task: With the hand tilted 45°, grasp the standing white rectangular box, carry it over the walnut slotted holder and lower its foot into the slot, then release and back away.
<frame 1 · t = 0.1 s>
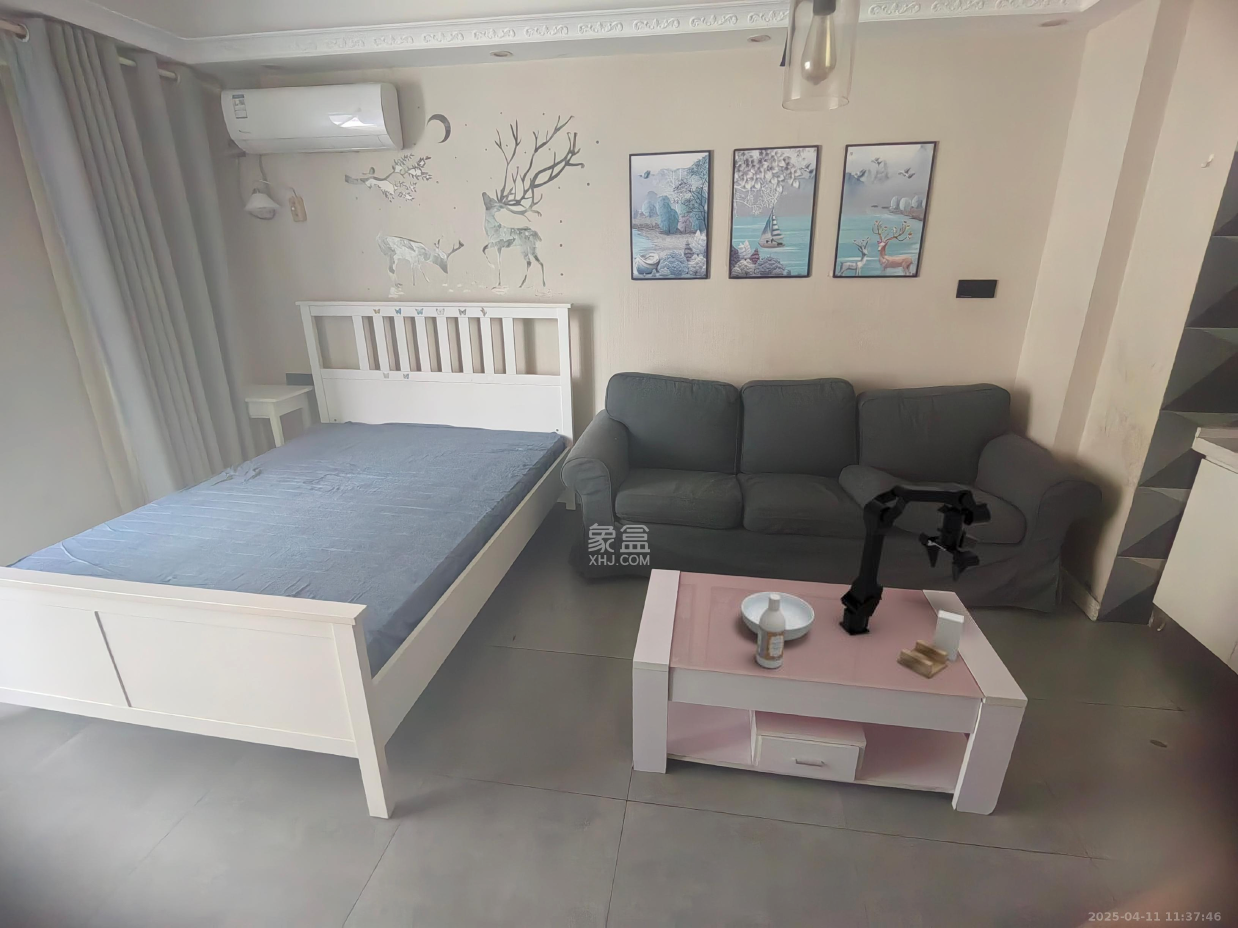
hand: (943, 574, 184), 15 cm above the table, tool pointing down, fingers open, 9 cm apart
serving bowl: (775, 629, 182), on the table
slot holder: (922, 663, 166), on the table
white rectangular box: (944, 653, 171), on the table
bath foam: (769, 661, 168), on the table
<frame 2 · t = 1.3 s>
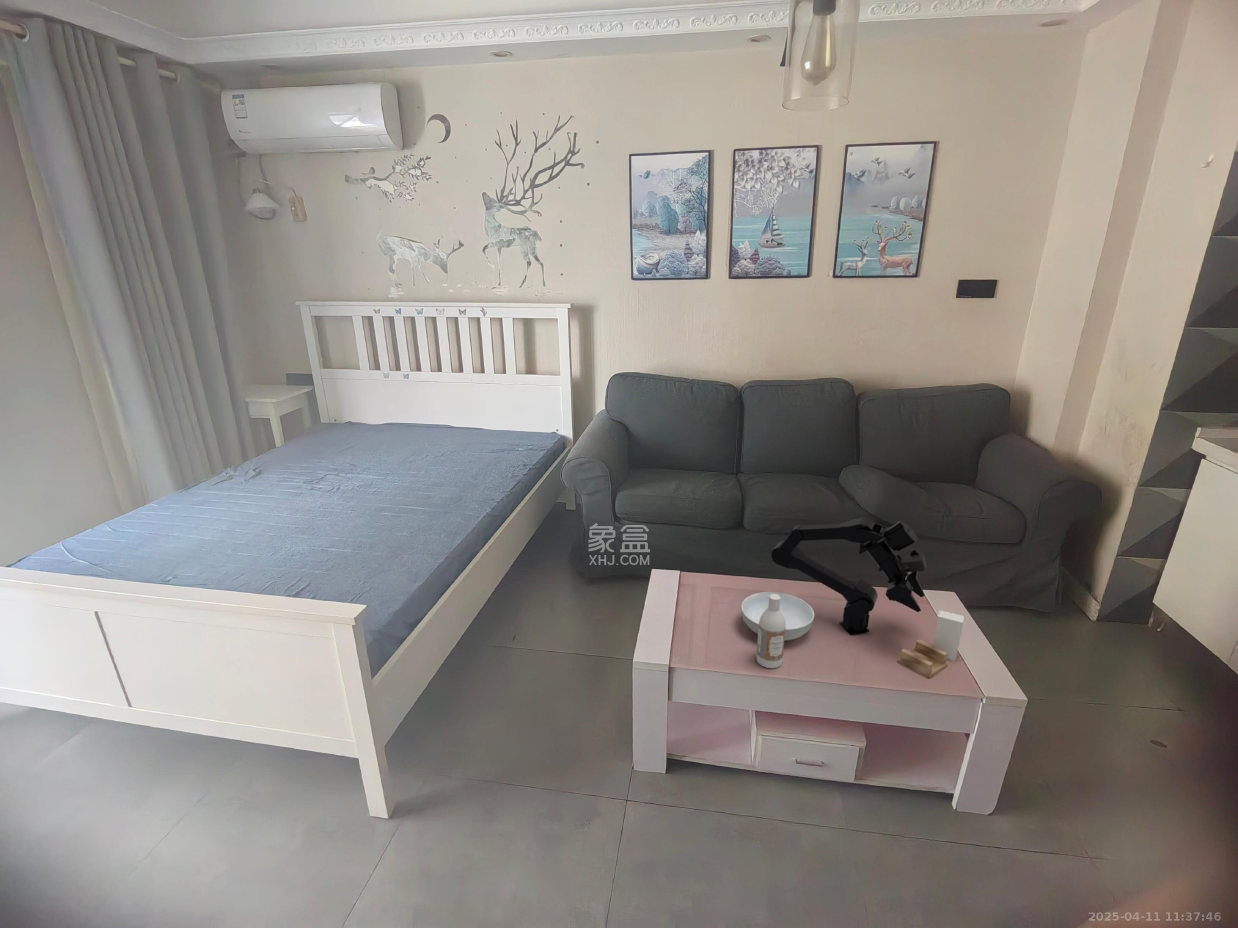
hand: (921, 603, 171), 13 cm above the table, tool tilted 45°, fingers open, 9 cm apart
nothing on the table moved.
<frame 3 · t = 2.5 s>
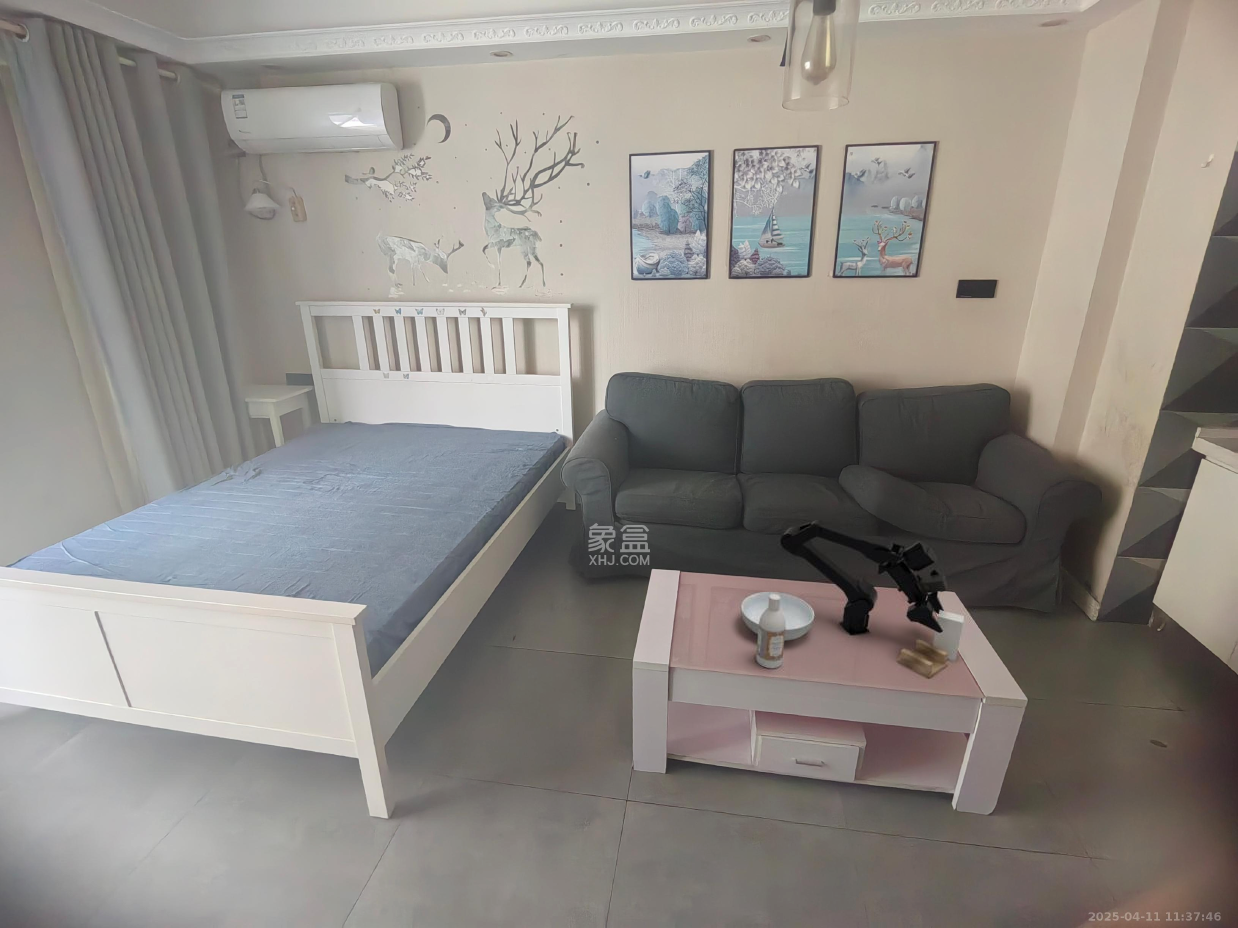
hand: (943, 624, 169), 9 cm above the table, tool tilted 45°, fingers open, 9 cm apart
nothing on the table moved.
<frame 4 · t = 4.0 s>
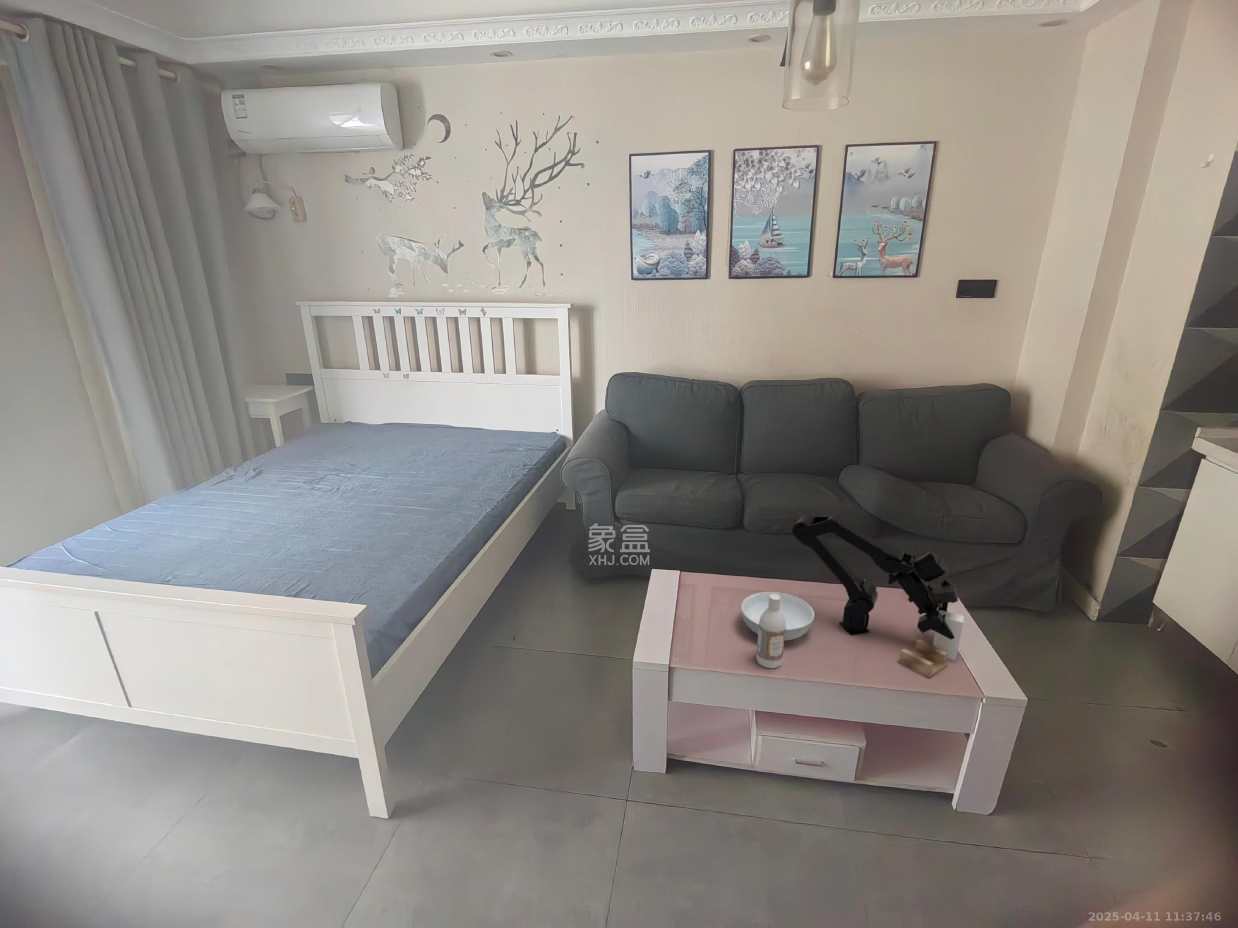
hand: (953, 634, 168), 7 cm above the table, tool tilted 45°, fingers closed on white rectangular box, 4 cm apart
white rectangular box: (944, 653, 171), on the table, touching gripper
everything else where it was.
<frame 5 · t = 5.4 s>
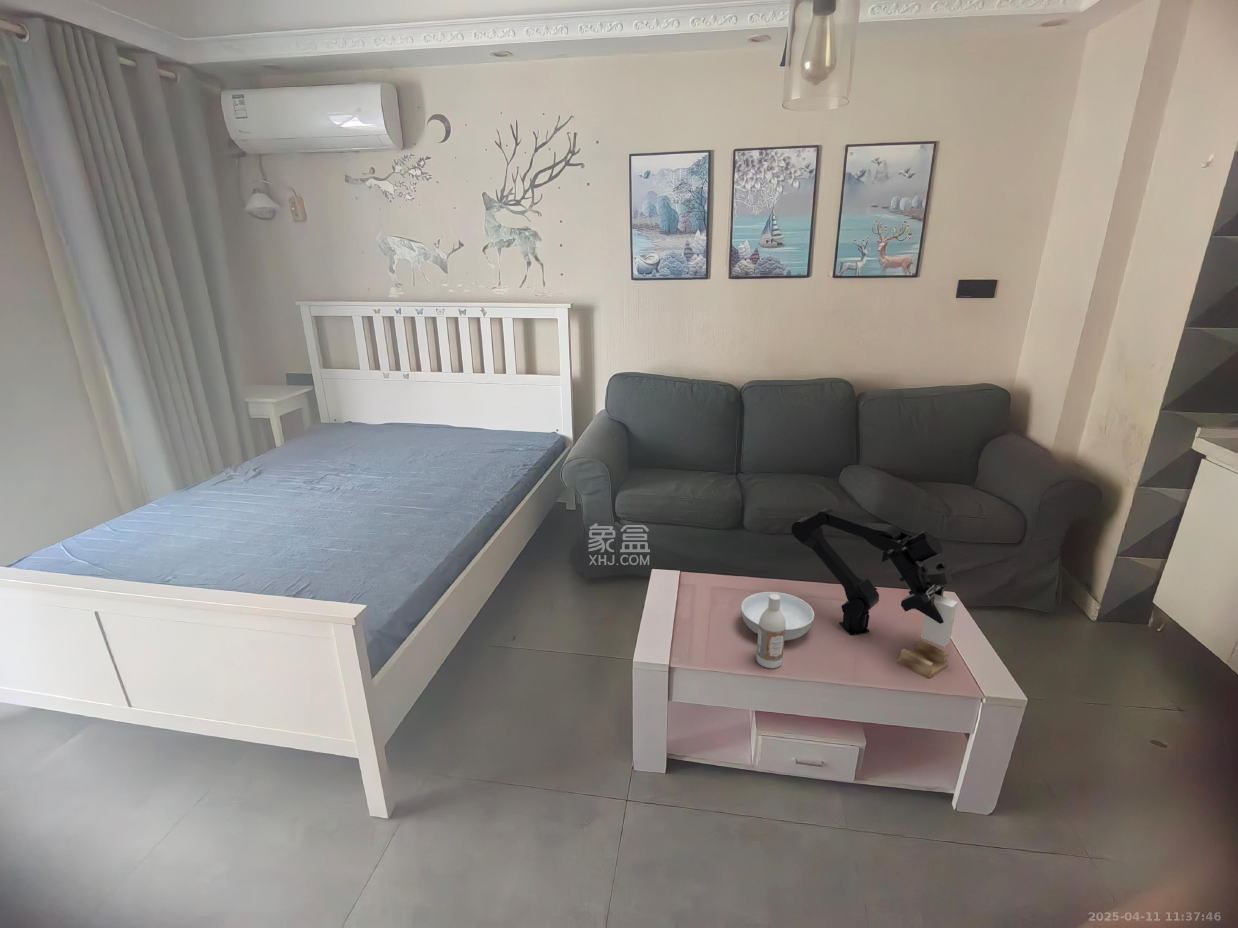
hand: (944, 619, 163), 13 cm above the table, tool tilted 45°, fingers closed on white rectangular box, 4 cm apart
white rectangular box: (935, 639, 166), point 7 cm above the table, touching gripper
everything else where it was.
when the fingers open (8 cm above the table, at t = 7.1 s): white rectangular box drops 1 cm, resting on slot holder.
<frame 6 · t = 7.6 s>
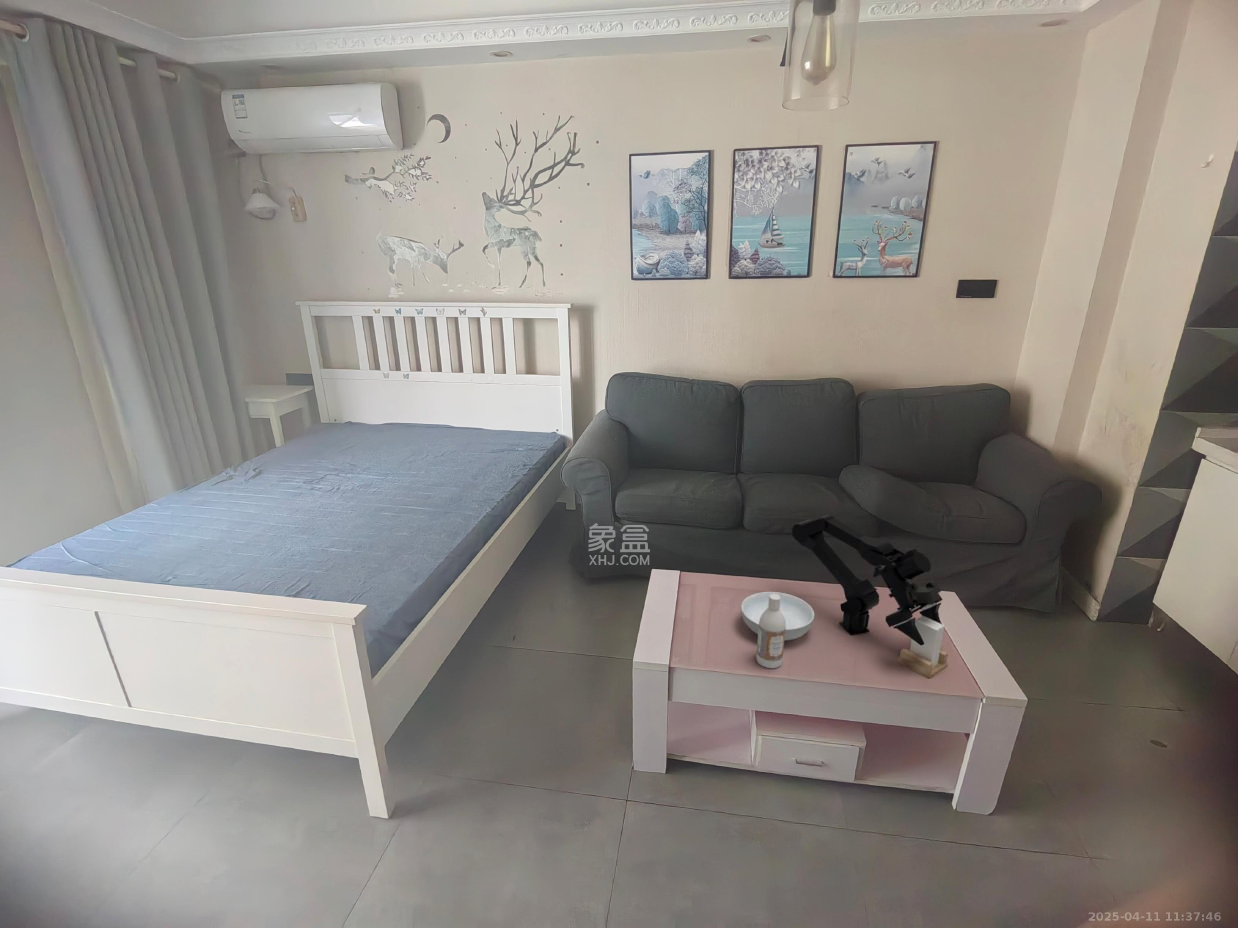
hand: (932, 638, 163), 9 cm above the table, tool tilted 45°, fingers open, 9 cm apart
white rectangular box: (922, 661, 166), point 1 cm above the table, touching slot holder
everything else where it was.
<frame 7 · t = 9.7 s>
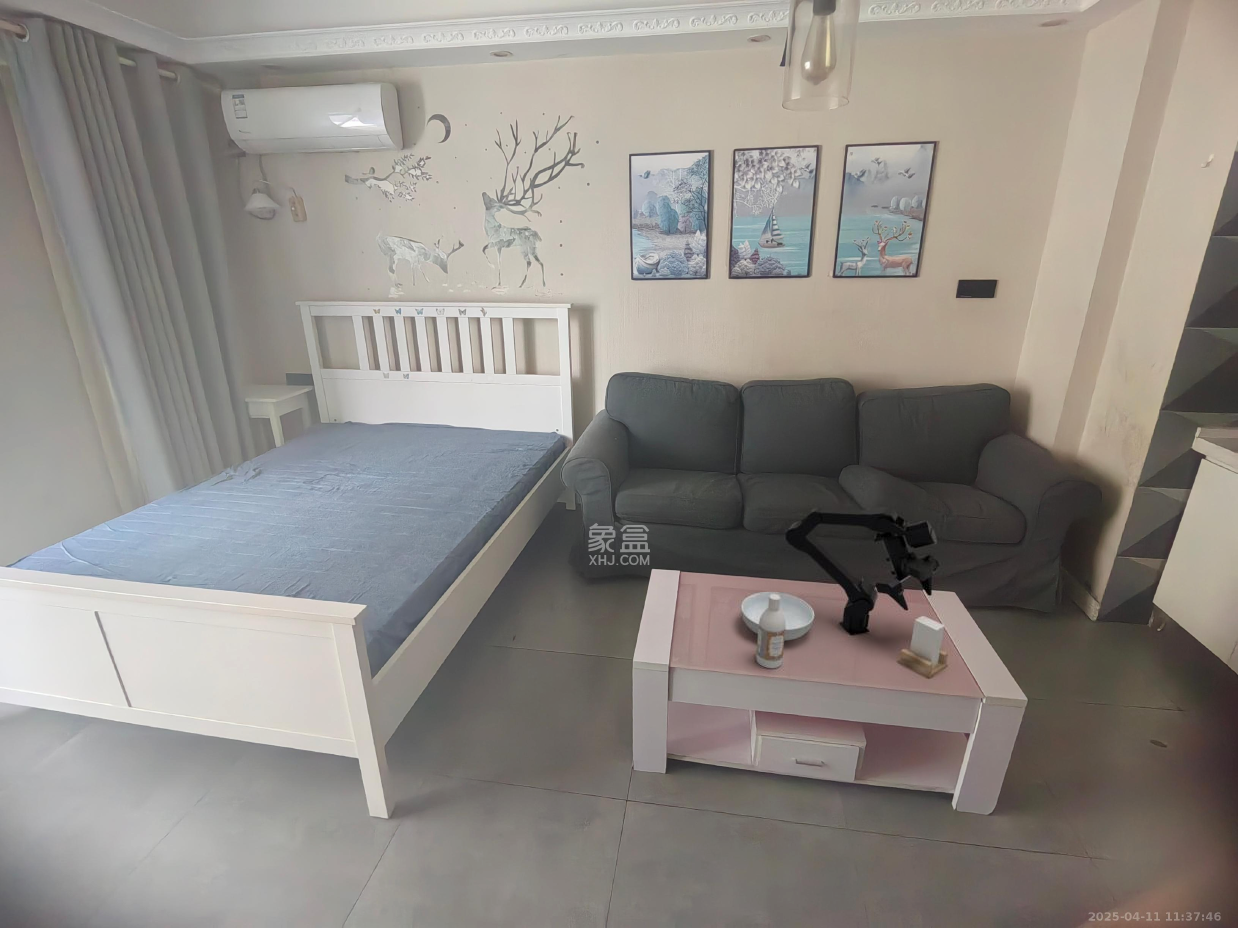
hand: (918, 602, 171), 13 cm above the table, tool tilted 25°, fingers open, 9 cm apart
nothing on the table moved.
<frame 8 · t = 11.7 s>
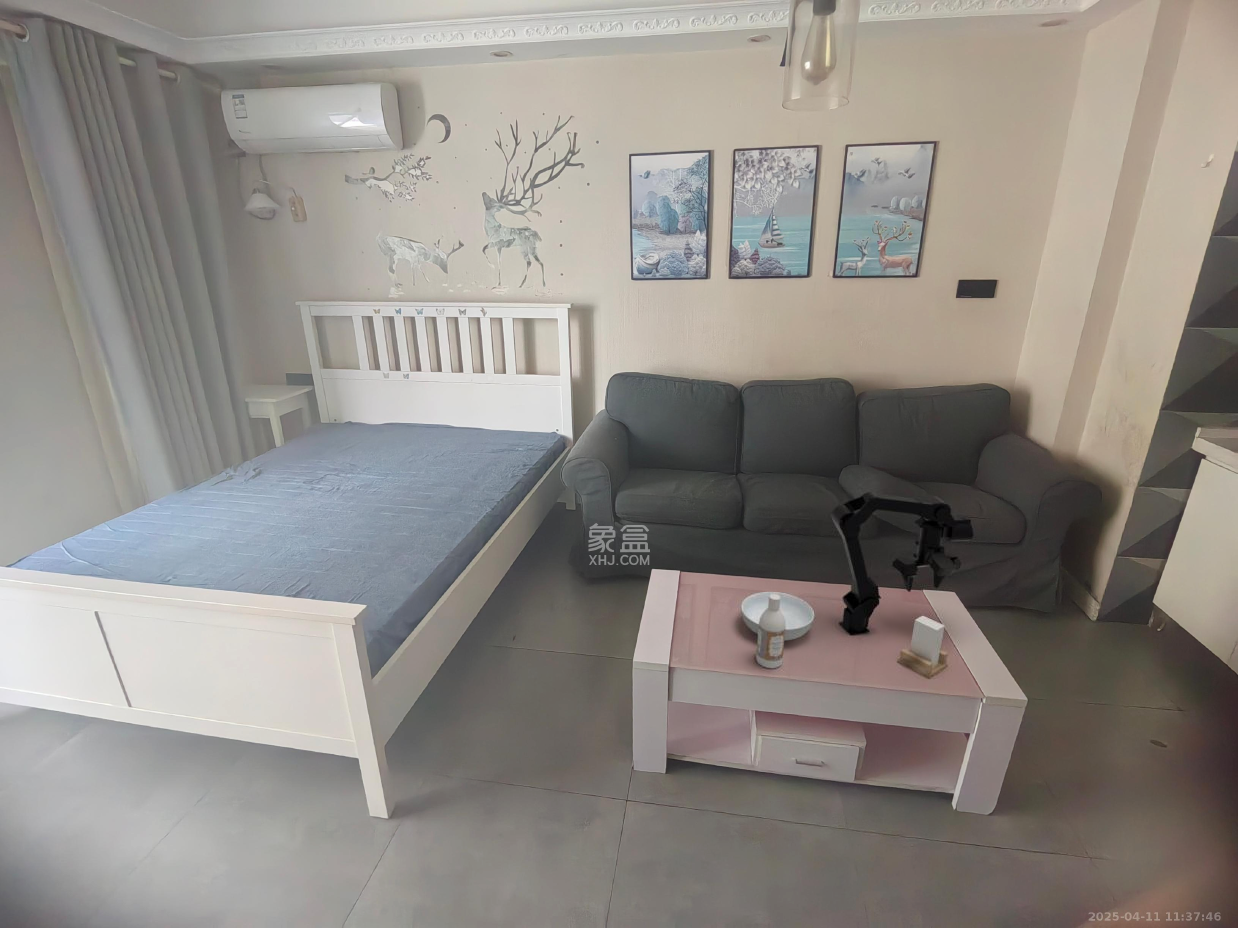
hand: (922, 589, 179), 13 cm above the table, tool pointing down, fingers open, 9 cm apart
nothing on the table moved.
at the end: white rectangular box 0.1 cm off-centre on the slot holder, point 0.8 cm above the slot holder's base; white rectangular box tilted 0°; the gripper is holding nothing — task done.
